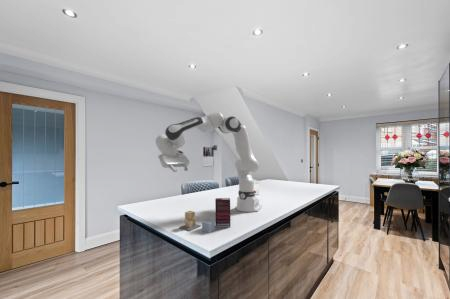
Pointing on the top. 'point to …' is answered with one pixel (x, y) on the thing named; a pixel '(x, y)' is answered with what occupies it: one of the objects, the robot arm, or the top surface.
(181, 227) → the charcoal mat
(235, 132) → the robot arm
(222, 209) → the supplement box
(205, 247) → the top surface
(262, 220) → the top surface
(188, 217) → the oak block
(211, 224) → the blue-grey cube
